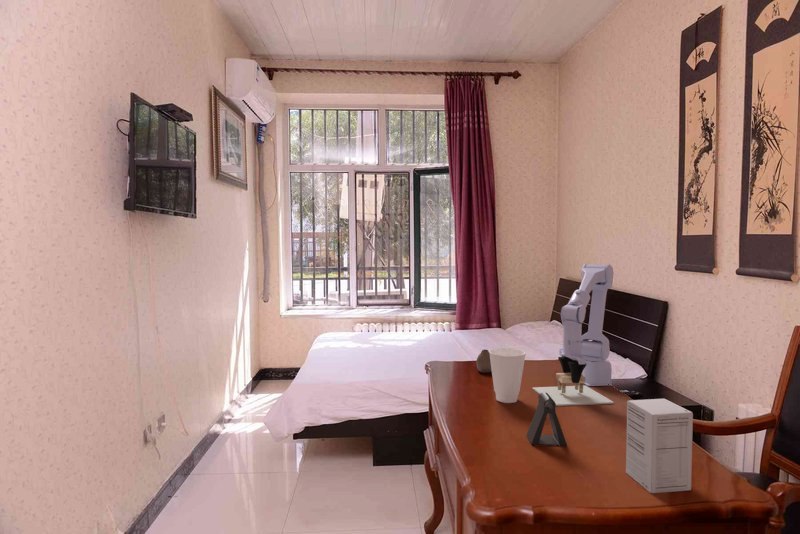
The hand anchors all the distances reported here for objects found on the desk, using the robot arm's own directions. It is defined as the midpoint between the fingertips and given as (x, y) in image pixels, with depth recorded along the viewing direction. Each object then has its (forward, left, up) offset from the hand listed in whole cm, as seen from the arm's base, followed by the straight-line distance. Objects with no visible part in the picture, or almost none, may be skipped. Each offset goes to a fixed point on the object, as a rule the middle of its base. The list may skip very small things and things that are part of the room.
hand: (571, 380), depth 160 cm
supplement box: (+9, +57, -6) cm, 58 cm away
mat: (0, 0, -5) cm, 5 cm away
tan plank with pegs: (0, 0, -4) cm, 4 cm away
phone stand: (+24, +34, -6) cm, 42 cm away
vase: (+20, -33, -6) cm, 39 cm away
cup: (+23, +1, -6) cm, 24 cm away
